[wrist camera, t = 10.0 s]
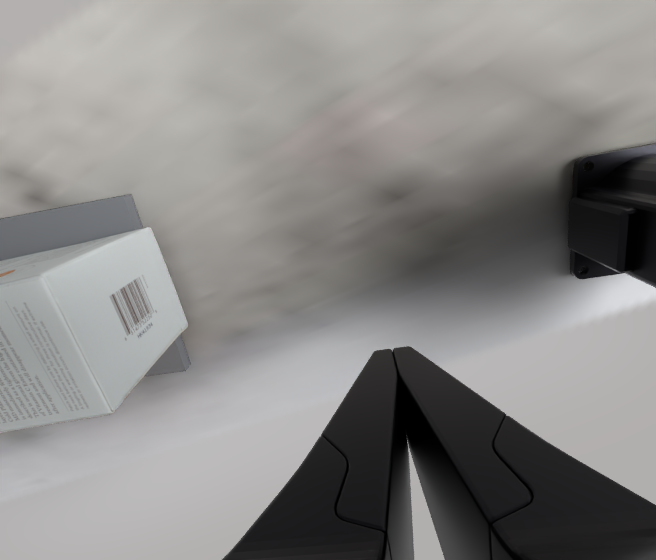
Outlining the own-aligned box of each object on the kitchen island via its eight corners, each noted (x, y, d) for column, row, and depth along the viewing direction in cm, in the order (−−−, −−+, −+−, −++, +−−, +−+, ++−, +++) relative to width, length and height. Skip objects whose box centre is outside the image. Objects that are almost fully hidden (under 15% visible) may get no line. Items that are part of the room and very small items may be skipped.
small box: (192, 326, 23) (4, 361, 24) (153, 224, 20) (-51, 269, 22) (113, 420, 15) (-153, 462, 17) (38, 273, 13) (-259, 337, 15)
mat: (131, 194, 21) (122, 196, 20) (190, 363, 24) (185, 370, 24) (-103, 238, 22) (-119, 241, 22) (-15, 391, 26) (-25, 399, 25)
